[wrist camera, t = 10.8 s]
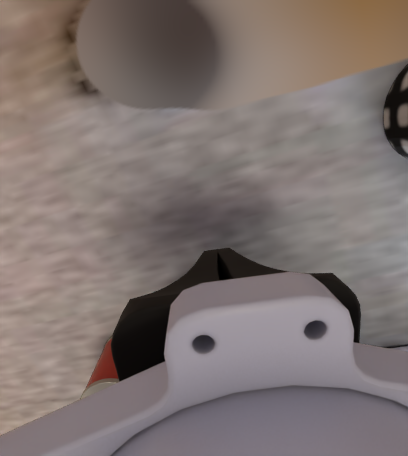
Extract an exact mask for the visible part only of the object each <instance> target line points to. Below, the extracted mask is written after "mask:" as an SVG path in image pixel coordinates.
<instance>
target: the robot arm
mask: <svg viewBox="0 0 408 456" xmlns="http://www.w3.org/2000/svg"><path fill="white" fill-rule="evenodd" d="M360 321H361V311H360V304H359V301H358V299H357V297H356V295H355V294H354V293H353V292H352V291H351V289H350V288H349V287H348V286H346V285H345V284H344V283H343V282H342V281H341V280H340V279H339V278H337V277H336V276H335V275H334V274H333V273H311V274H310V273H296V272H288V271H282V270H277V269H273V268H270V267H266V266H263V265H260V264H258V263H256V262H253V261H251V260H249V259H247V258H245V257H243V256H242V255H240V254H238V253H237V252H235V251H234V250H232V249H230V248H224V249H216V250H208V251H204V252H203V253H202V255H201V256H200V258H199V259H198V261H197V262H196V263H195V265H194V266H193V267H192V268H191V269H190V270H189V271H188V272H187V273H186V274H185V275H184V276H183V277H181V278H180V279H179V280H177V281H175V282H174V283H172V284H170V285H169V286H167V287H165V288H163V289H161V290H158V291H156V292H153V293H151V294H148V295H144V296H141V297H137V298H133V299H130V300H129V302H128V304H127V305H126V307H125V309H124V311H123V313H122V315H121V317H120V319H119V321H118V324H117V326H116V328H115V330H114V333H113V336H112V341H111V351H112V357H113V361H114V364H115V368H116V371H117V375H118V379H119V382H118V383H116V384H113V385H111V386H109V387H107V388H105V389H102V390H100V391H98V392H96V393H94V394H91V395H89V396H87V397H85V398H82V399H80V400H78V401H76V402H74V403H71V404H69V405H67V406H65V407H63V408H60V409H58V410H56V411H54V412H51V413H49V414H47V415H45V416H43V417H40V418H38V419H36V420H34V421H32V422H29V423H27V424H25V425H23V426H21V427H18V428H16V429H14V430H12V431H9V432H7V433H5V434H3V435H1V436H0V456H408V346H405V347H397V348H383V347H377V346H372V345H366V344H361V343H359V338H360Z"/></svg>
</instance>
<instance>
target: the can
mask: <svg viewBox="0 0 408 456" xmlns="http://www.w3.org/2000/svg"><path fill="white" fill-rule="evenodd" d="M112 336H113V335H112ZM112 336H111V337H110V338H109V339H108V340H107V342H106V344H105V346H104V349H103V352H102V354H101V356H100V358H99V360H98V362H97V365H96V367H95V369H94V371H93V373H92V376H91V378H90V380H89V382H88V384H87V386H86V389H85V390H84V392H83V394H82V396H81V398H80V399H82V398H85V397H87V396H89V395H91V394H94V393H96V392H98V391H100V390H102V389H105V388H107V387H109V386H111V385H113V384H116V383H118V382H119V379H118V375H117V371H116V368H115V364H114V361H113V357H112V351H111V341H112Z"/></svg>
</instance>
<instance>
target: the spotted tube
mask: <svg viewBox="0 0 408 456" xmlns="http://www.w3.org/2000/svg"><path fill="white" fill-rule="evenodd" d="M384 128H385V132H386V135H387V138H388V140H389V142H390V143H391V145H392V147H393V148H394V149H395V150H396V151H397V152H398V153H399V154H401V155H403V156H404V157H406V158H408V65H407V66H406V67H405V68H404V69H403V71H402V72H401V73H400V74H399V75H398V77H397V78H396V80H395V82H394V83H393V85H392V87H391V89H390V91H389V94H388V96H387V99H386V103H385V107H384Z"/></svg>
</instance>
